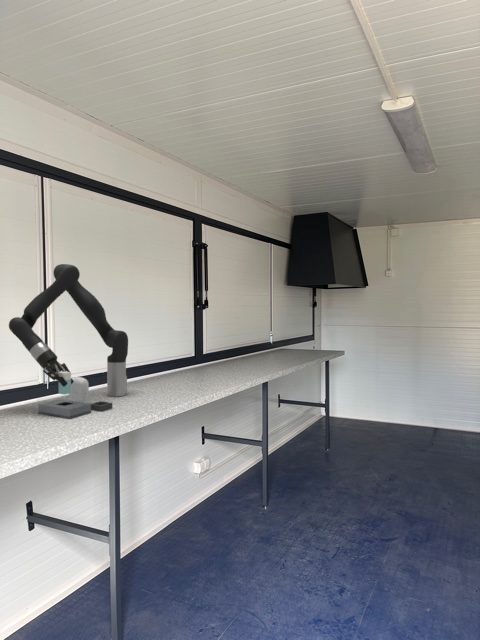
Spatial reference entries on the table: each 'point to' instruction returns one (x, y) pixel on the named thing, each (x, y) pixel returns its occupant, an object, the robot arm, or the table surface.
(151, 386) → the table surface
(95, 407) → the dark grey square frame
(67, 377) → the plug
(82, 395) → the photo printer
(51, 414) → the block
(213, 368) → the table surface
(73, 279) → the robot arm
